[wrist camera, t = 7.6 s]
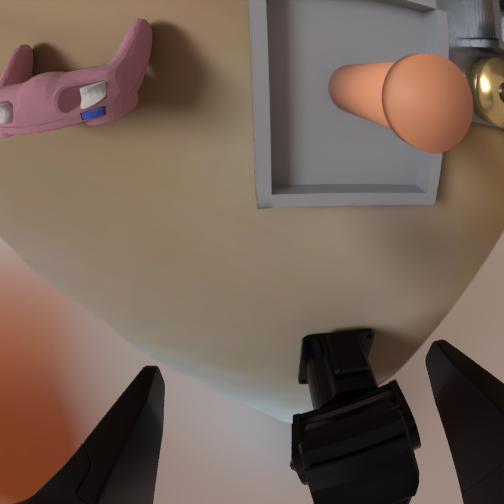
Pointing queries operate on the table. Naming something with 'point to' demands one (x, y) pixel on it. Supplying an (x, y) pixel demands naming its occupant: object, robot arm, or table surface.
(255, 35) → the tray
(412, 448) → the robot arm
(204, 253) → the table surface
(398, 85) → the pin
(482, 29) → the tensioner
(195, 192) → the table surface
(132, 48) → the video game controller
